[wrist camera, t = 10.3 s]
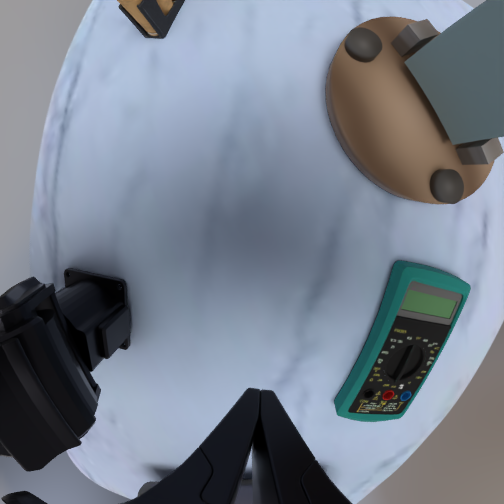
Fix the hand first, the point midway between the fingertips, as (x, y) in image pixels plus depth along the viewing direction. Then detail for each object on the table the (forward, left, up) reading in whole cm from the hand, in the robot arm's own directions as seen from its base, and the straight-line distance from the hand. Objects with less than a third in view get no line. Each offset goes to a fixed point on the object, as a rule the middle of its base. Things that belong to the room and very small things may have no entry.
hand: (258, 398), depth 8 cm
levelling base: (+10, +15, -12) cm, 22 cm away
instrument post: (+10, +15, -10) cm, 20 cm away
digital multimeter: (+12, -5, -13) cm, 18 cm away
